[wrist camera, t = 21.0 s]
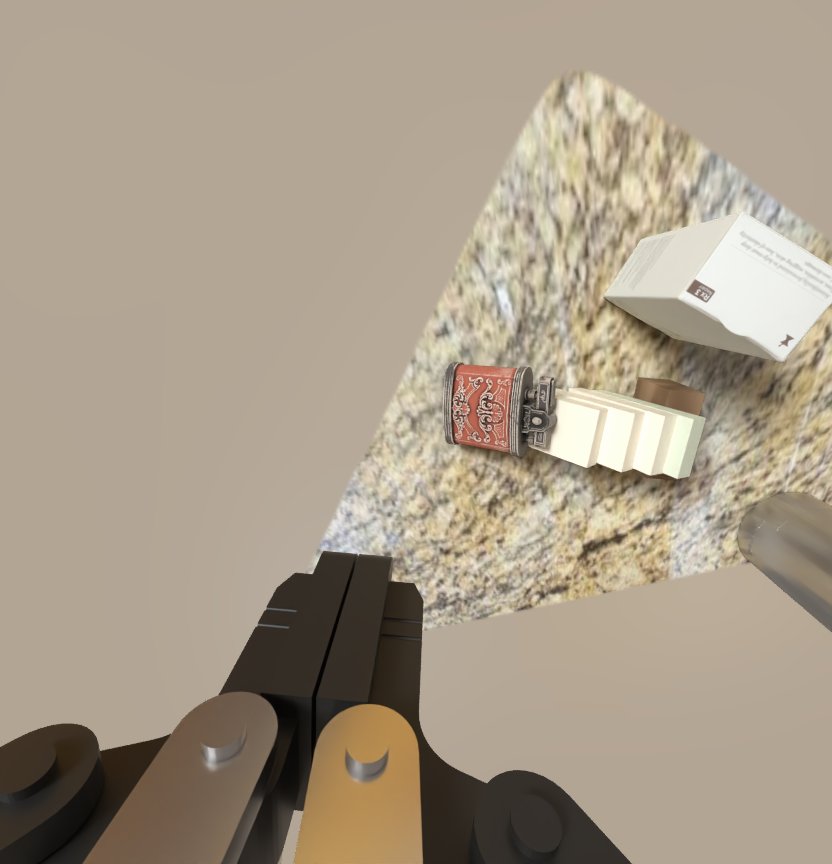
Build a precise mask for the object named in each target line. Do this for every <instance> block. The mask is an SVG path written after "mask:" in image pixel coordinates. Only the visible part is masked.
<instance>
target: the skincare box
mask: <svg viewBox="0 0 832 864" xmlns="http://www.w3.org/2000/svg"><path fill="white" fill-rule="evenodd" d="M604 298H606V299H607V300H608V301H610V302H612V303H613V304H615V305H616V306H618V307H620V308H621V309H623V310H625V311H626V312H628V313H630V314H631V315H633V316H635V317H636V318H638V319H640V320H642V321H643V322H645V323H647V324H648V325H650V326H652V327H654V328H656V329H658V330H660V331H662V332H664V333H665V334H667V335H668V336H670V337H671V338H673V339H678V340H682V341H687V342H692V343H696V344H700V345H705V346H709V347H714V348H719V349H723V350H728V351H733V352H737V353H742V354H746V355H751V356H755V357H760V358H765V359H769V360H774V361H779V362H784V361H785V360H786V359H787V357H788V356H789V355H790V353H791V352H792V351H793V349H794V348H795V347H796V346H797V345H798V344H799V342H800V341H801V340H802V339H803V337H804V336H805V335H806V334H807V333H808V331H809V330H810V329H811V327H812V326H813V325H814V324H815V322H816V321H817V320H818V319H819V317H820V316H821V315H822V314H823V313H824V311H825V310H826V309H827V308H828V307H829V306H830V304H831V303H832V267H831V266H830V265H828V264H827V263H825V262H824V261H822V260H821V259H819V258H817V257H816V256H814V255H813V254H811V253H810V252H808V251H807V250H805V249H803V248H802V247H800V246H799V245H797V244H795V243H794V242H792V241H791V240H789V239H787V238H786V237H784V236H782V235H781V234H779V233H778V232H776V231H774V230H773V229H771V228H770V227H768V226H766V225H765V224H763V223H761V222H760V221H758V220H756V219H755V218H753V217H751V216H750V215H748V214H747V213H745V212H740V213H736V214H733V215H729V216H725V217H721V218H718V219H714V220H711V221H707V222H704V223H699V224H695V225H691V226H688V227H684V228H680V229H676V230H673V231H669V232H665V233H661V234H658V235H654V236H650V237H647V238H643V239H641V240H640V242H639V244H638V245H637V247H636V248H635V250H634V251H633V253H632V254H631V256H630V257H629V259H628V260H627V262H626V263H625V265H624V266H623V268H622V269H621V271H620V272H619V274H618V275H617V277H616V278H615V280H614V281H613V283H612V284H611V286H610V287H609V289H608V290H607V292H606V293H605V295H604Z"/></svg>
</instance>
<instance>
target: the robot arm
mask: <svg viewBox="0 0 832 864" xmlns="http://www.w3.org/2000/svg"><path fill="white" fill-rule="evenodd" d="M738 545H739V548H740V551H741V552H742V554H743V555H744V557H745V558H746V559H747V560H749V561H750V562H751V563H752V564H753V565H754V566H756V567H757V568H758V569H759V570H760V571H761V572H762V573H764V574H765V575H766V576H767V577H768V578H769V579H770V580H772V581H773V582H774V583H775V584H776V585H777V586H778V587H780V588H781V589H782V590H783V591H784V592H785V593H787V594H788V595H789V596H790V597H791V598H793V599H794V600H795V601H796V602H797V603H798V604H800V605H801V606H802V607H803V608H804V609H805V610H806V611H808V612H809V613H810V614H811V615H812V616H813V617H815V618H816V619H817V620H818V621H819V622H820V623H822V624H823V625H824V626H825V627H826V628H827V629H829V630H830V631H831V632H832V506H830V505H828V504H827V503H825V502H823V501H821V500H819V499H817V498H815V497H814V496H812V495H809V494H805V493H800V492H787V493H781V494H777V495H774V496H771V497H769V498H767V499H765V500H763V501H762V502H760V503H759V504H757V505H756V506H755V507H754V508H752V509H751V510H750V511H749V512H748V514H747V515H746V516H745V518H744V519H743V521H742V523H741V525H740V528H739V532H738ZM392 563H393V558H392V557H386V556H375V555H364V554H359V556H358V555H357V554H351V553H340V552H329V551H323V553H322V554H321V557H320V559H319V561H318V563H317V566H316V568H315V570H314V572H313V574H303V573H294V574H293V575H292V576H291V577H290V578H288V579H287V580H286V581H285V582H283V583H282V584H281V585H280V586H279V587H277V589H276V591H275V592H274V594H273V596H272V598H271V600H270V601H269V603H268V605H267V609H266V610H265V611H264V613H263V615H262V616H261V618H260V620H259V622H258V626H257V627H255V629H254V631H253V633H252V635H251V637H250V638H249V640H248V642H247V644H246V646H245V648H244V650H243V651H242V653H241V655H240V657H239V659H238V660H237V662H236V664H235V666H234V668H233V670H232V672H231V673H230V675H229V677H228V679H227V681H226V683H225V685H224V686H223V688H222V690H221V692H220V693H219V695H218V696H216V697H213V698H211V699H209V700H207V701H205V702H203V703H202V704H200V705H198V706H197V707H196V708H194V709H193V710H192V711H190V712H189V713H188V714H187V715H186V716H185V717H184V718H183V719H182V720H181V722H180V723H179V724H178V725H177V727H176V728H175V729H174V731H173V732H172V734H169V735H167V736H164V737H162V738H158V739H154V740H150V741H145V742H140V743H136V744H131V745H126V746H122V747H117V748H112V749H107V750H103V751H100V749H99V744H98V741H97V738H96V736H95V735H94V733H93V732H92V731H91V730H90V729H88V728H87V727H84V726H82V725H78V724H57V725H51V726H47V727H44V728H40V729H38V730H35V731H32V732H29V733H27V734H25V735H23V736H21V737H19V738H17V739H15V740H13V741H11V742H9V743H7V744H5V745H4V746H2V747H0V864H281V860H282V851H283V848H284V844H285V840H286V836H287V833H288V829H289V826H290V822H291V819H292V815H293V811H294V810H298V811H303V815H302V821H301V826H300V831H299V837H298V842H297V847H296V852H295V857H294V863H293V864H631V863H630V861H629V860H628V859H627V858H626V857H625V856H624V855H623V854H622V853H621V852H620V850H619V849H618V848H617V847H616V846H615V845H614V844H613V843H612V842H611V841H610V840H609V838H608V837H607V836H606V835H605V834H604V833H603V832H602V831H601V830H600V829H599V828H598V826H597V825H596V824H595V823H594V822H593V821H592V820H591V819H590V818H589V817H588V816H587V814H586V813H585V812H584V811H583V810H582V809H581V808H580V807H579V806H578V805H577V804H576V802H575V801H574V800H573V799H572V798H571V797H570V796H569V795H568V794H567V793H566V792H565V791H564V790H563V789H561V788H560V787H559V786H557V785H556V784H555V783H554V782H552V781H551V780H549V779H547V778H545V777H544V776H541V775H538V774H536V773H533V772H528V771H521V770H513V771H507V772H504V773H501V774H499V775H497V776H495V777H494V778H492V779H491V780H490V781H489V782H488V783H484V782H482V781H480V780H478V779H476V778H474V777H472V776H469V775H467V774H465V773H463V772H461V771H459V770H457V769H455V768H453V767H451V766H450V765H448V764H447V763H446V762H444V761H443V760H442V759H441V758H440V757H439V756H438V755H437V754H436V753H435V752H434V751H433V750H432V748H431V747H430V746H429V744H428V742H427V741H426V739H425V737H424V735H423V732H422V729H421V726H420V721H419V695H420V671H421V648H422V647H421V646H422V622H423V599H422V597H421V595H420V593H419V591H418V590H417V588H416V586H415V584H414V583H404V582H393V581H391V579H392Z"/></svg>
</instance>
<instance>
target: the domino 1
mask: <svg viewBox="0 0 832 864" xmlns="http://www.w3.org/2000/svg"><path fill="white" fill-rule="evenodd" d="M533 390H534V389H533ZM537 392H538V390H537ZM532 403H535V404H536V405H537V399H536V400H533V399H532ZM608 410H609V409H608V408H604V407H600V406H597V405H593V404H589V403H585V402H581V401H577V400H573V399H569V398H566V397H562V396H558V395H555V404H554V405H553V406H552V411H553V412H554V413H555V414H556V416H557V418H556V423H555V424H554V425H553V426H551V427H550V440H549V445H548V447H547V448H543V447H537V446H534V445H532V444H530V443H528V447H531V448H534V449H537V450H539V451H542V452H545V453H547V454H550V455H553V456H556V457H558V458H561V459H564V460H566V461H569V462H572V463H575V464H577V465H580V466H583V467H585V468H588V467H591V466H593V465H596V462H597V458H598V453H599V449H600V445H601V441H602V436H603V432H604V428H605V423H606V419H607V415H608ZM531 434H535V431H530V434H529V435H531Z"/></svg>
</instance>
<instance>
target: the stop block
mask: <svg viewBox="0 0 832 864" xmlns="http://www.w3.org/2000/svg"><path fill="white" fill-rule="evenodd" d="M705 394H706V393H703V392H701V391H698V390H695V389H693V388H690V387H687V386H685V385H682V384H679V383H676V382H674V381H671V380H664V379H652V378H640V377H638V381H637V385H636V389H635V394H634V398H635V399H639V400H643V401H646V402H650V403H654V404H657V405H661V406H664V407H668V408H672V409H675V410H679V411H683V412H686V413H690V414H694V415H697V416H699V415H700V412H701V408H702V404H703V401H704V397H705ZM641 473H642V474H644V475H645V476H646V477H647V478H656V479H668V480H679V481H681V479H682V478H679V479H676V478H674V477H671V476H669V475H667V474H664V473H662V474H656V475H651V476H650V475H647V474H645V473H643V472H641Z"/></svg>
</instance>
